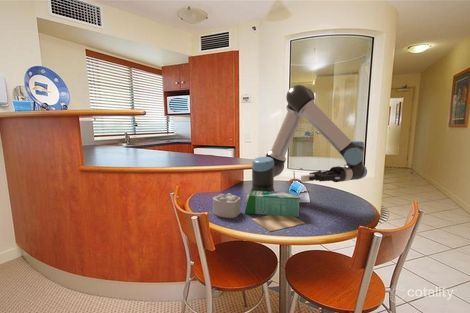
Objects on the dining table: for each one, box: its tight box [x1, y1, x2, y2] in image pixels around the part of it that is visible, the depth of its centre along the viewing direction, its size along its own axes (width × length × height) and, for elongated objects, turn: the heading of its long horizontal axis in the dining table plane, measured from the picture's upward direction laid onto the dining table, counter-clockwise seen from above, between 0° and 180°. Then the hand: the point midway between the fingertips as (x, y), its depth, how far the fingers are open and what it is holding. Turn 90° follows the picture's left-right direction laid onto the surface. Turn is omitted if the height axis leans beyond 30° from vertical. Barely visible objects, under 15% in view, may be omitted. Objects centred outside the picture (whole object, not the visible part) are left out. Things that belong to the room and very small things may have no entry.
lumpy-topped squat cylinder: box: [212, 192, 242, 219], centre depth 117 cm, size 10×13×9 cm
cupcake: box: [288, 171, 303, 187], centre depth 156 cm, size 9×8×12 cm
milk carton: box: [244, 190, 300, 218], centre depth 117 cm, size 9×9×25 cm
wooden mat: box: [251, 215, 306, 233], centre depth 107 cm, size 18×14×1 cm
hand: (302, 178), depth 110 cm, fingers closed
